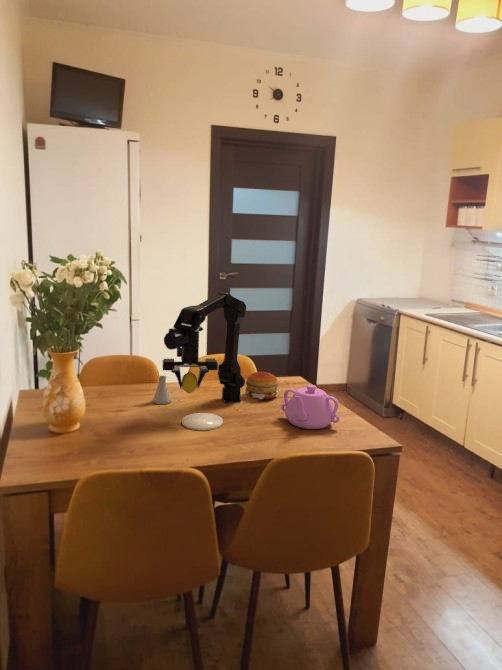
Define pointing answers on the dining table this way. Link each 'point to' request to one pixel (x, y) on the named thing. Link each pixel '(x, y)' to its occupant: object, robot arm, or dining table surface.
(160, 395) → the flask
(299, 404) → the teapot
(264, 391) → the burger
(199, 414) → the plate
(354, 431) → the dining table surface
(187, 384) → the lemon
